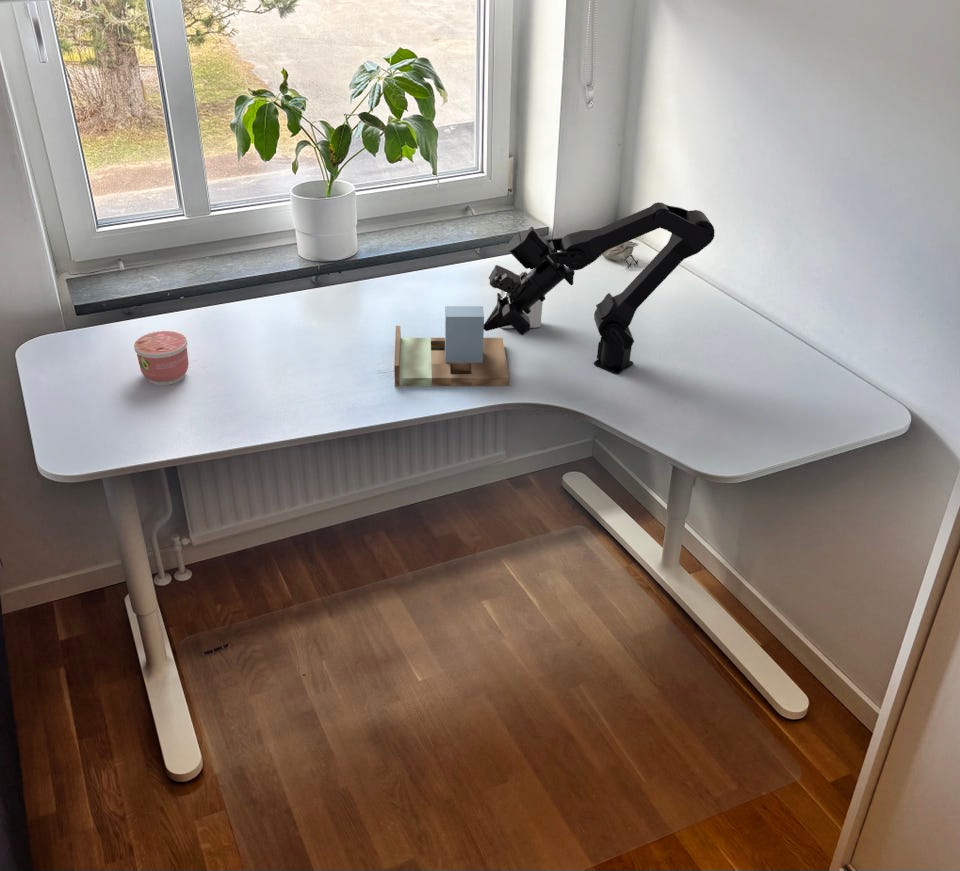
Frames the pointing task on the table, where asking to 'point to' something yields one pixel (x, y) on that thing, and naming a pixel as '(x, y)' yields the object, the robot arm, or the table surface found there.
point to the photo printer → (532, 314)
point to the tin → (464, 334)
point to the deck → (447, 364)
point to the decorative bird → (621, 252)
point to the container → (162, 356)
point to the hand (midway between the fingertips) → (484, 328)
